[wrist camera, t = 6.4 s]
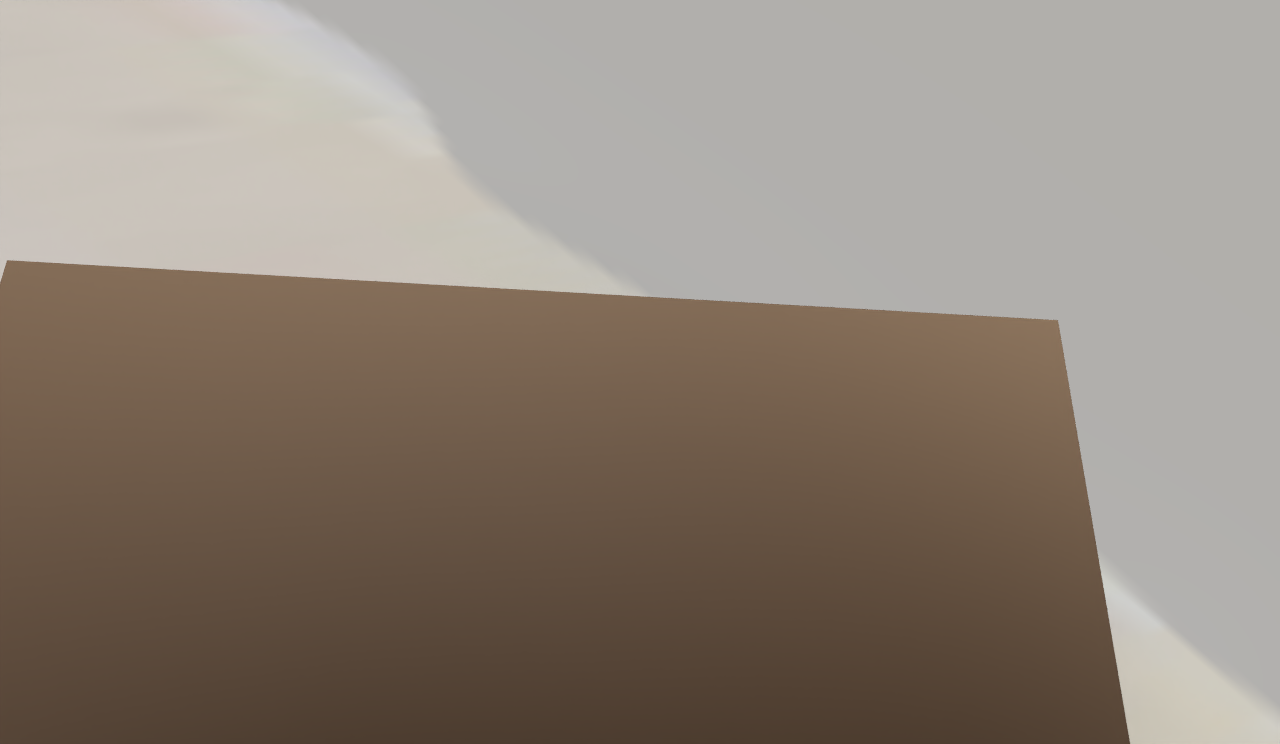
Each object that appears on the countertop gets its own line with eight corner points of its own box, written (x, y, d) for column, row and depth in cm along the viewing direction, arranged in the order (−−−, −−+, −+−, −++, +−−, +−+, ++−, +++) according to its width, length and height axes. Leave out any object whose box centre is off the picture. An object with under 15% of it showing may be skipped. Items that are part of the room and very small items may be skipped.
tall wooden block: (656, 803, 14) (1316, 1845, 2) (428, 804, 14) (-561, 2118, 2) (657, 574, 15) (1057, 320, 3) (450, 569, 15) (7, 261, 3)
